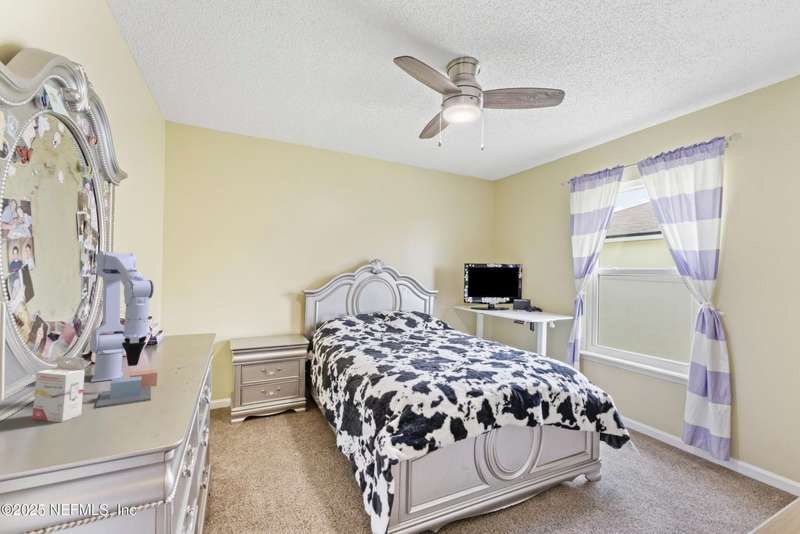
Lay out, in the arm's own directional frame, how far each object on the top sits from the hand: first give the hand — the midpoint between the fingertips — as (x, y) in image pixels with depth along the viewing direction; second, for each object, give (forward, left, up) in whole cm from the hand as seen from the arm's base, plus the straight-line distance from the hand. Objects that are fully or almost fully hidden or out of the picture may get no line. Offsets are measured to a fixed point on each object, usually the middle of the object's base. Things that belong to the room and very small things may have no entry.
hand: (133, 362), depth 104 cm
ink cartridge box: (+13, -14, -10) cm, 22 cm away
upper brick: (-7, +3, -9) cm, 12 cm away
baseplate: (+3, -1, -9) cm, 10 cm away
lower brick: (+3, -1, -9) cm, 9 cm away
